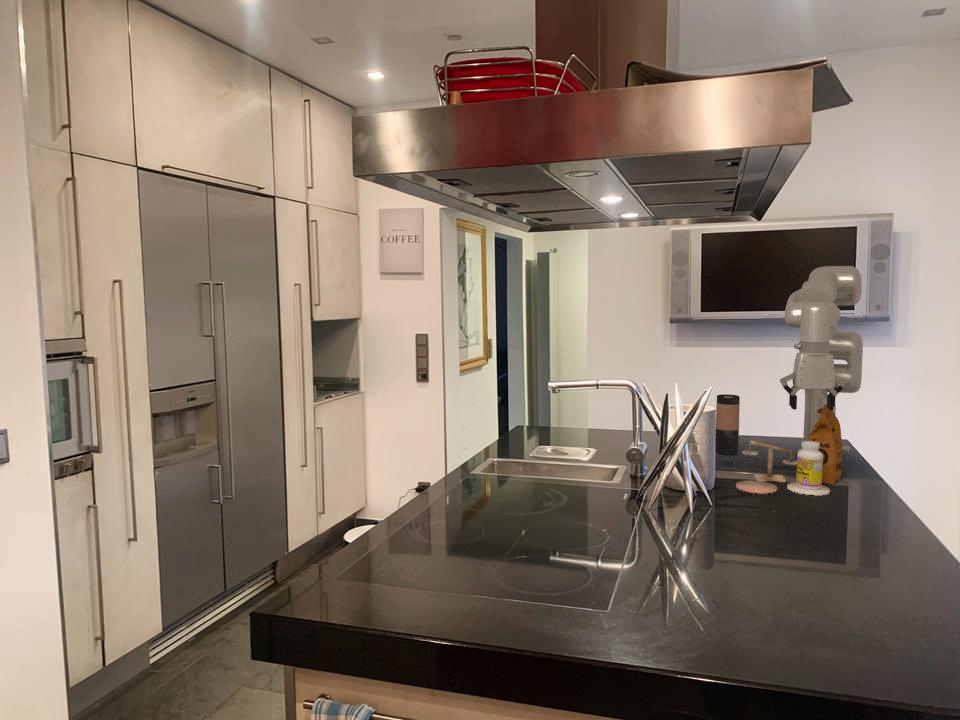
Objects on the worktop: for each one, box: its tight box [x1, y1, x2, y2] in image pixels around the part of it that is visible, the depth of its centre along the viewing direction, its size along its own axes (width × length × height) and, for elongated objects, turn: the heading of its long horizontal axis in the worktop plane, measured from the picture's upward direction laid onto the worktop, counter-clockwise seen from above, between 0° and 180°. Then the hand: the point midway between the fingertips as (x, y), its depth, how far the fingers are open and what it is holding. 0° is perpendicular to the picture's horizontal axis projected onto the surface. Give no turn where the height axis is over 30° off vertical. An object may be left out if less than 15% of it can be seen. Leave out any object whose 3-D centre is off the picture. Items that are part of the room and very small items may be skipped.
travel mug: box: [715, 394, 741, 456], centre depth 245 cm, size 8×8×20 cm
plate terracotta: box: [735, 480, 778, 495], centre depth 203 cm, size 11×11×1 cm
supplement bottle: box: [795, 441, 823, 490], centre depth 200 cm, size 7×7×13 cm
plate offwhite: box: [786, 481, 831, 497], centre depth 201 cm, size 11×11×1 cm
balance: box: [741, 440, 797, 483], centre depth 211 cm, size 16×4×12 cm, turn 82°
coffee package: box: [807, 404, 843, 485], centre depth 212 cm, size 10×12×22 cm
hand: (811, 409), depth 199 cm, fingers open, 9 cm apart
